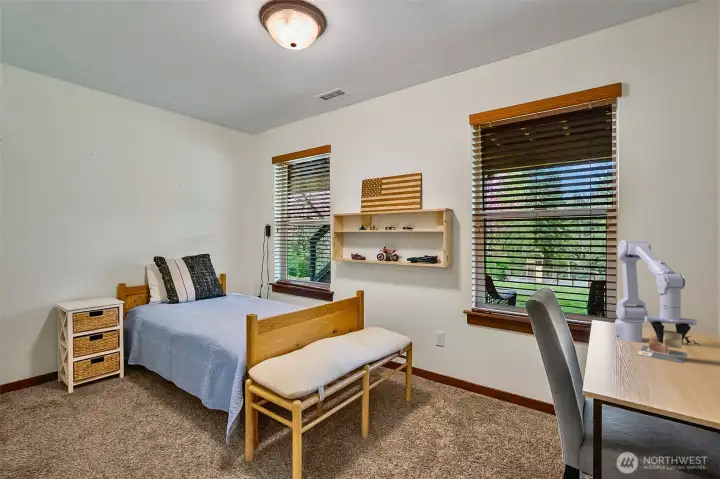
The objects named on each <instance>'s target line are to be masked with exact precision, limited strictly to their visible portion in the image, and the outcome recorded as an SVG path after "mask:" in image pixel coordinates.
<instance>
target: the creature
mask: <svg viewBox="0 0 720 479" xmlns="http://www.w3.org/2000/svg"><path fill="white" fill-rule="evenodd" d="M691 337H692V335H689V336H688V335H687V336H685V337H684V339H685V341H686V345H687V346H690V345H689V344H692V345H694V346H695V345H698V346H699V347H701V345H700V344H699V343H698V342H696V341H695V340H693V339H691V340H690V339H689V338H691ZM692 342H693V343H692ZM683 344H684V341H683V342H682V345H683Z"/></svg>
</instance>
